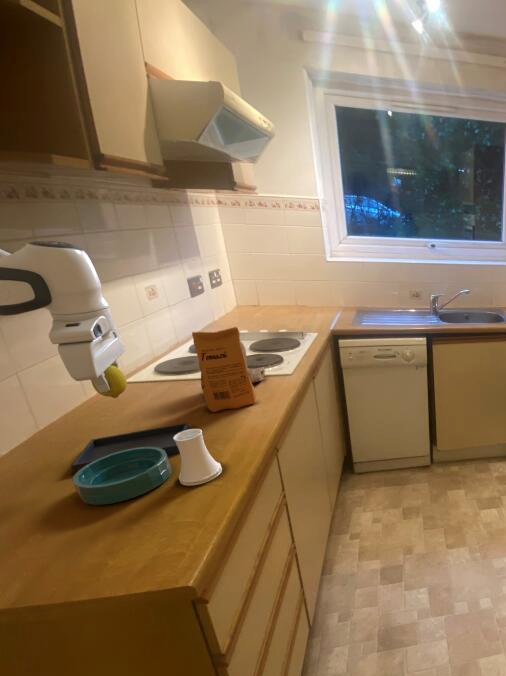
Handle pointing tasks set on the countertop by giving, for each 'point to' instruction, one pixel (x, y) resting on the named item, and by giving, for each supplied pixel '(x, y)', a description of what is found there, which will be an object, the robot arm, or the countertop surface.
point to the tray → (130, 443)
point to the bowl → (122, 475)
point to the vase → (195, 458)
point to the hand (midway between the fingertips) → (110, 385)
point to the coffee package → (223, 370)
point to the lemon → (114, 382)
